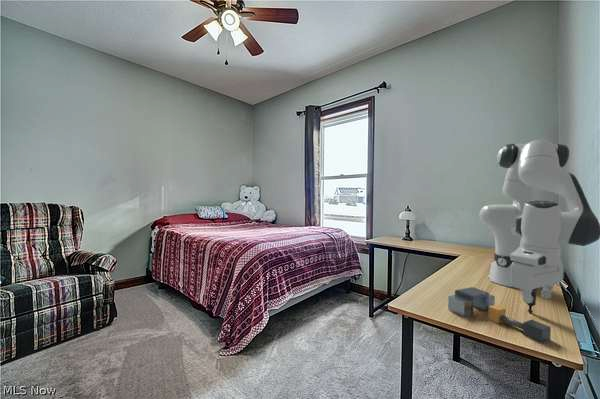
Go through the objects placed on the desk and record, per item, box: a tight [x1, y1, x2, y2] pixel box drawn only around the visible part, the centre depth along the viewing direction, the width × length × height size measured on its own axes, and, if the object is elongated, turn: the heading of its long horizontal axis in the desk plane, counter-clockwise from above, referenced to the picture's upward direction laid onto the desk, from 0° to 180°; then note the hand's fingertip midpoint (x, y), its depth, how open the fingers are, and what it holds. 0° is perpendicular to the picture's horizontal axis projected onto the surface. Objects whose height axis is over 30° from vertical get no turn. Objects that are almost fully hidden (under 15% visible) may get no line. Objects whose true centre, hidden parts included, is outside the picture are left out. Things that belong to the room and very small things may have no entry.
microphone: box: [525, 288, 538, 314], centre depth 90 cm, size 7×7×20 cm
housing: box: [447, 286, 496, 318], centre depth 92 cm, size 17×6×7 cm, turn 112°
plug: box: [487, 304, 552, 344], centre depth 79 cm, size 4×14×4 cm, turn 22°
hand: (537, 299), depth 74 cm, fingers open, 8 cm apart
